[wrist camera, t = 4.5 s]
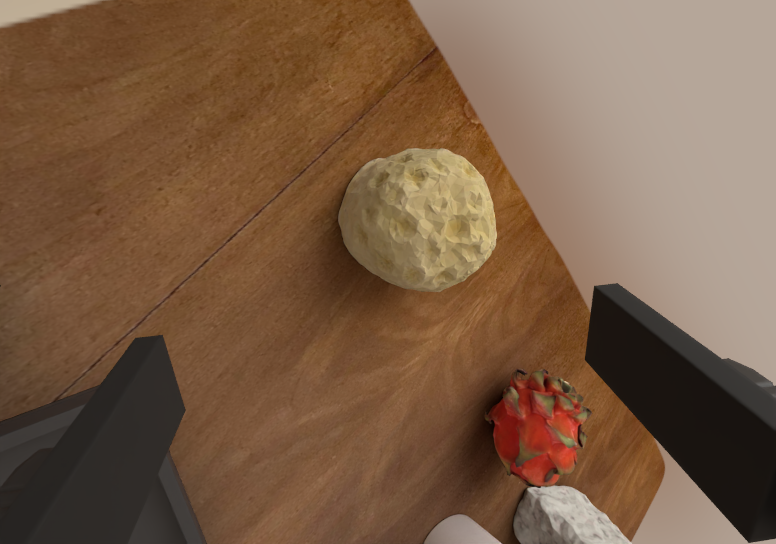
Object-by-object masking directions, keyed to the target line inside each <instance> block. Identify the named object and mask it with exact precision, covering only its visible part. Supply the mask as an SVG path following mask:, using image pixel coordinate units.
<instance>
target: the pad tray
mask: <svg viewBox="0 0 776 544" xmlns="http://www.w3.org/2000/svg"><path fill="white" fill-rule="evenodd" d="M99 386H100V385H99ZM99 386H96V387H93V388H91V389H88V390H85V391H83V392H80V393H77V394H74V395H72V396H69V397H66V398H64V399H61V400H58V401H56V402H53V403H50V404H47V405H45V406H42V407H39V408H37V409H34V410H31V411H29V412H26V413H23V414H20V415H18V416H15V417H12V418H10V419H7V420H4V421H2V422H0V487H1V486H2V485H3V483H4V482H5V481H6V480H7V478H8V477H9V476H10V475H11V473H12V472H13V471H14V470H15V468H17V467H18V466H19V465H20V464H22V463H23V462H24V461H25V460H27V459H28V458H29V457H30V456H32V455H33V454H34V453H35V452H37V451H38V450H39V449H45V448H53V447H55V445H56V444H57V443H58V441H59V440H60V439H61V437H62V436H63V434H64V433H65V432H66V430H67V429H68V428H69V426H70V425H71V424H72V422H73V421H74V420H75V418H76V417H77V416H78V414H79V413H80V412H81V410H82V409H83V408H84V406H85V405H86V404H87V402H88V401H89V400H90V398H91V397H92V396H93V394H94V393H95V392H96V390H97V389H98V387H99ZM128 544H207V543H206V540H205V538H204V535H203V533H202V530H201V528H200V525H199V523H198V521H197V518H196V516H195V513H194V511H193V508H192V506H191V503H190V501H189V498H188V496H187V494H186V491H185V489H184V486H183V484H182V481H181V479H180V476H179V474H178V471H177V469H176V467H175V464H174V462H173V459H172V457H171V454H170V452H169V450H168V452H167V454H166V457H165V459H164V461H163V463H162V466H161V468H160V470H159V473H158V475H157V477H156V480H155V482H154V484H153V486H152V489H151V491H150V493H149V496H148V498H147V500H146V503H145V505H144V507H143V510H142V512H141V514H140V516H139V519H138V521H137V523H136V526H135V528H134V530H133V533H132V535H131V537H130V539H129V542H128Z"/></svg>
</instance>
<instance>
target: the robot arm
mask: <svg viewBox="0 0 776 544" xmlns="http://www.w3.org/2000/svg"><path fill="white" fill-rule="evenodd" d="M585 360H586V362H587V363H588V364H589V365H590V366H591V367H592V368H593V369H594V371H595V372H596V373H597V374H598V375H599V376H600V377H601V378H602V379H603V381H604V382H605V383H606V384H607V385H608V386H609V387H610V388H611V390H612V391H613V392H614V393H615V394H616V395H617V396H618V397H619V398H620V400H621V401H622V402H623V403H624V404H625V405H626V406H627V407H628V409H629V410H630V411H631V412H632V413H633V414H634V415H635V416H636V417H637V419H638V420H639V421H640V422H641V423H642V424H643V425H644V426H645V428H646V429H647V430H648V431H649V432H650V433H651V434H652V435H653V436H654V438H655V439H656V440H657V441H658V442H659V443H660V444H661V445H662V446H663V448H665V450H666V451H667V452H668V453H669V454H670V455H671V457H672V458H673V459H674V460H675V461H676V462H677V463H678V464H679V465H680V466H681V468H682V469H683V470H684V471H685V472H686V473H687V474H688V475H689V477H690V478H691V479H692V480H693V481H694V482H695V483H696V484H697V485H698V487H699V488H700V489H701V490H702V491H703V492H704V493H705V494H706V496H707V497H708V498H709V499H710V500H711V501H712V502H713V503H714V505H715V506H716V507H717V508H718V509H719V510H720V511H721V512H722V514H723V515H724V516H725V517H726V518H727V519H728V520H729V521H730V522H731V523H732V525H733V526H734V527H735V528H736V529H737V530H738V531H739V532H740V534H741V535H742V536H743V537H744V538H745V539H746V540H747V541H748V543H751V542H757V541H764V540H769V539H775V538H776V386H773V383H772V382H771V381H769V380H768V379H766V378H765V377H763V376H762V375H760V374H759V373H758V372H756V371H755V370H753V369H751V368H749V367H747V366H744V365H742V364H740V363H738V362H735V361H733V360H731V359H729V358H728V359H721V358H720V357H718V356H717V355H716V354H714V353H713V352H712V351H710V350H709V349H707V348H706V347H705V346H703V345H702V344H700V343H699V342H698V341H696V340H695V339H694V338H692V337H691V336H689V335H688V334H687V333H685V332H684V331H682V330H681V329H680V328H678V327H677V326H676V325H674V324H673V323H671V322H670V321H668V320H667V319H666V318H665V317H663V316H662V315H660V314H659V313H658V312H656V311H655V310H654V309H652V308H651V307H649V306H648V305H646V304H645V303H644V302H642V301H641V300H640V299H638V298H637V297H636V296H634V295H633V294H631V293H630V292H629V291H627V290H626V289H624V288H623V287H622V286H620V285H619V284H618V283H616V284H608V285H599V286H594V291H593V299H592V307H591V315H590V323H589V331H588V339H587V347H586V355H585ZM184 413H185V407H184V404H183V400H182V397H181V394H180V390H179V387H178V384H177V381H176V377H175V374H174V371H173V368H172V364H171V361H170V358H169V354H168V351H167V348H166V345H165V341H164V338H163V335H158V336H149V337H141V338H135V339H134V341H133V342H132V343H131V345H130V346H129V347H128V349H127V350H126V351H125V353H124V354H123V355H122V357H121V358H120V359H119V361H118V362H117V363H116V365H115V366H114V367H113V369H112V370H111V371H110V373H109V374H108V375H107V377H106V378H105V379H104V381H103V382H102V383H101V385H100V386H99V387H98V389H97V390H96V392H95V393H94V394H93V396H92V397H91V398H90V400H89V401H88V402H87V404H86V405H85V406H84V408H83V409H82V410H81V412H80V413H79V414H78V416H77V417H76V418H75V420H74V421H73V422H72V424H71V425H70V426H69V428H68V429H67V430H66V432H65V433H64V434H63V436H62V437H61V439H60V440H59V441H58V443H57V444H56V445H55V447H53V448H45V449H39V450H38V451H37V452H35V453H34V454H33V455H32V456H30V457H29V458H28V459H27V460H25V461H24V462H23V463H22V464H20V465H19V466H18V467H17V468H15V470H14V471H13V472H12V473H11V475H10V476H9V477H8V478H7V480H6V481H5V482H4V483H3V485H2V486H1V487H0V544H128V542H129V539H130V537H131V535H132V533H133V530H134V528H135V526H136V523H137V521H138V519H139V516H140V514H141V512H142V510H143V507H144V505H145V503H146V500H147V498H148V496H149V493H150V491H151V489H152V486H153V484H154V482H155V480H156V477H157V475H158V473H159V470H160V468H161V466H162V463H163V461H164V459H165V457H166V454H167V452H168V450H169V447H170V445H171V443H172V440H173V438H174V436H175V433H176V431H177V429H178V427H179V424H180V422H181V420H182V417H183V415H184Z"/></svg>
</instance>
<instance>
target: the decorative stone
mask: <svg viewBox="0 0 776 544" xmlns="http://www.w3.org/2000/svg"><path fill="white" fill-rule="evenodd" d="M513 527H514V532H515V536H516V537H517V539H518V540H519V542H520V543H521V544H632V543H631V542H630V541H629V540H628V539H627V538H626V537H625V536H624V535H623V534H622V533H621V531H620V530H619V529H618V527H617V526H616V525H614V524H613V523H612V522H611V521H610V520H609V518H608V517H607V515H606V514H605V513H602V512H600V511H599V510H598V509H597V508H596V507H594V506H593V505H592V504H591V503H590V501H589V500H588V498H587V497H586V495H584V494H582V493H581V492H579V491H578V490H576V489H574V488H572V487H567V486H551V487H544V486H542V487H541V488H537V487H529V488H528V489H527V490H526V491H525V493H524V497H523V499H522V500H521V502H520V504H519V505H518V508H517V512H516V515H515V516H514V523H513Z"/></svg>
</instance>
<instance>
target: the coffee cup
mask: <svg viewBox="0 0 776 544" xmlns="http://www.w3.org/2000/svg"><path fill="white" fill-rule="evenodd" d="M424 544H502V543H501V542H499V541H498V540H497V539H496V538H494V537H493V536H492V535H491V534H489V533H488V532H487V531H486V530H484V529H483V528H482V527H481V526H480V525H478V524H477V523H476V522H475V521H473V520H472V519H471V518H470V517H468V516H466V515H461V514H458V515H453V516H450V517H448V518H446V519H444V520H443V521H441V522H440V523H439V524H438V525H437V526H436V527H435V528H434V529H433V530H432V531H431V532H430V534H429V535H428V536H427V538H426V540H425V542H424Z"/></svg>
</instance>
